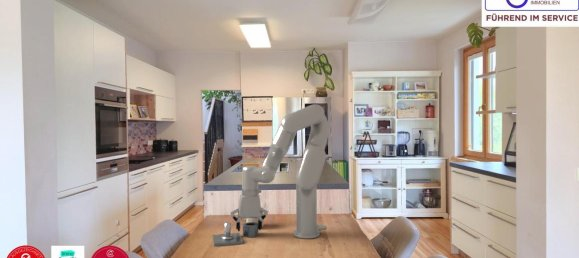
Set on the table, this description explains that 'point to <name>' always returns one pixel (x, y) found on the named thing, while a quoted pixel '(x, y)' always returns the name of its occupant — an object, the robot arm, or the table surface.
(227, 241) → the shaft block
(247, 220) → the teacup with lid
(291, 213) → the table surface
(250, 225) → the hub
